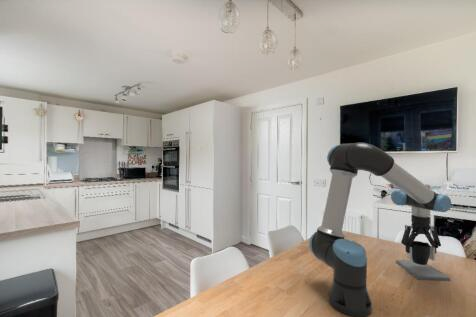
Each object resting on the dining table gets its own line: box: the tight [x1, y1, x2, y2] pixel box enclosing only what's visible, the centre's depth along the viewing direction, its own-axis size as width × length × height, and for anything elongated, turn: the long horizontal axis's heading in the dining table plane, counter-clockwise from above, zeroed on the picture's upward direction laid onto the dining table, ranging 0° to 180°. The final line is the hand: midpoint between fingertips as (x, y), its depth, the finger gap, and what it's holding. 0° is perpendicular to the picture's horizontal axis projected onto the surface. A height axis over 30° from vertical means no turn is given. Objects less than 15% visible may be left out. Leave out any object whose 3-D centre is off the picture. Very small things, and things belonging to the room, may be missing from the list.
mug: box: [411, 240, 431, 265], centre depth 117 cm, size 8×12×10 cm
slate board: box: [395, 259, 451, 282], centre depth 117 cm, size 18×14×1 cm
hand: (420, 259), depth 117 cm, fingers closed on mug, 10 cm apart
